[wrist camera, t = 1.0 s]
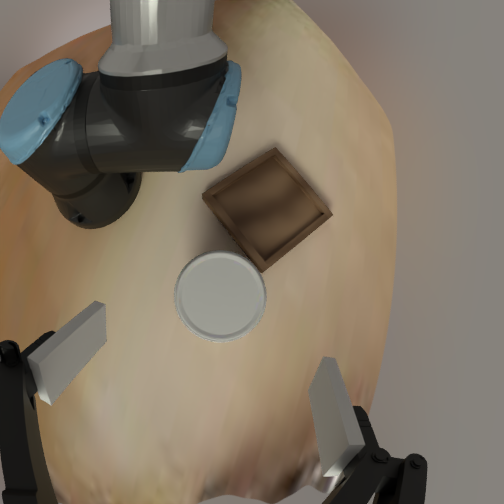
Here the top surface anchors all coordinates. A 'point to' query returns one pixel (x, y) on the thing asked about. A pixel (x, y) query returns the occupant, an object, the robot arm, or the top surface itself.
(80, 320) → the robot arm
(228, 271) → the coffee cup
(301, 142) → the top surface
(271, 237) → the coaster tray
